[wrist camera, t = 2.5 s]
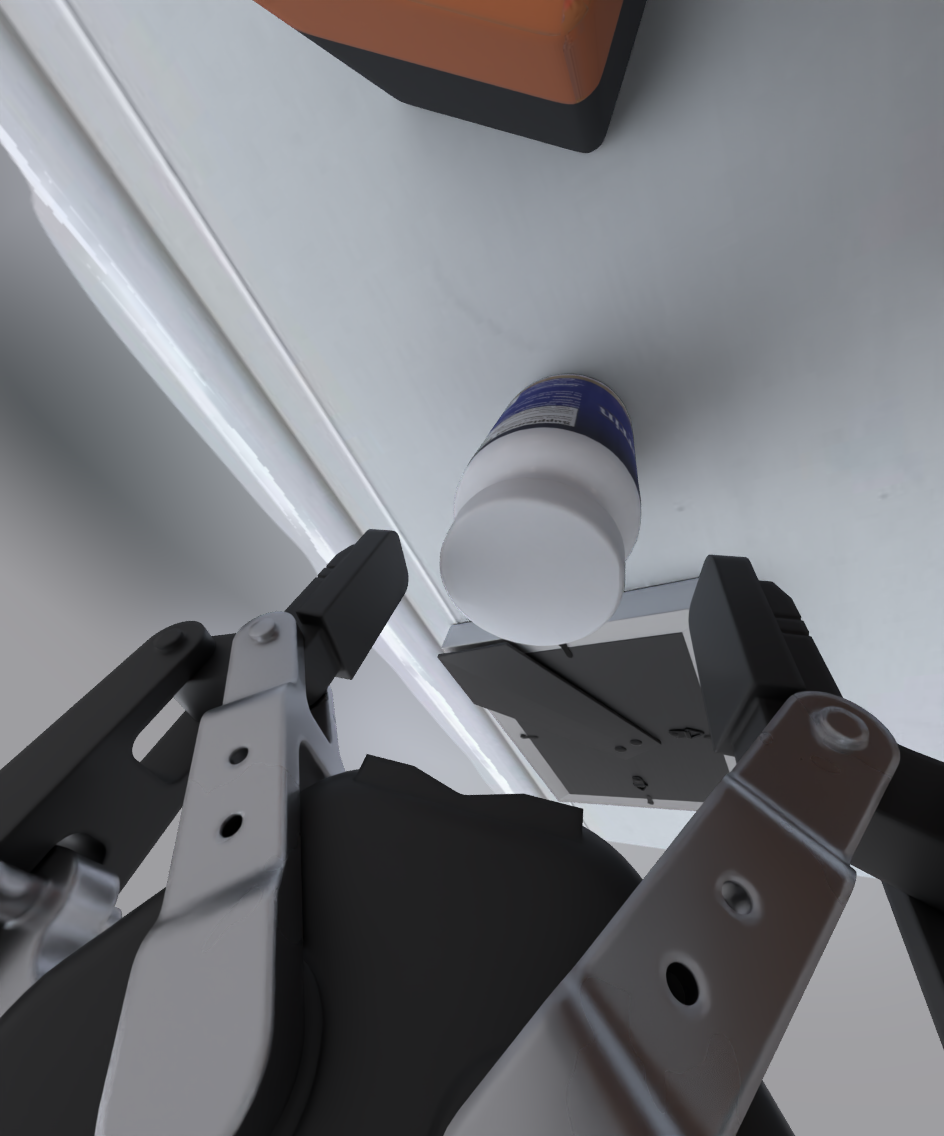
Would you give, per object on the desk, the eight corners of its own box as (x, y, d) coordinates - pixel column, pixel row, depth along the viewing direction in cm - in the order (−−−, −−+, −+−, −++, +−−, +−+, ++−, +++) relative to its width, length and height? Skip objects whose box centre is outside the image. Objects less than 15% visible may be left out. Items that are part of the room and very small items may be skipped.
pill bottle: (641, 484, 17) (661, 658, 10) (520, 508, 20) (465, 663, 12) (621, 347, 14) (629, 450, 7) (482, 395, 17) (380, 509, 9)
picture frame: (450, 625, 27) (560, 777, 36) (437, 657, 25) (557, 810, 34) (707, 575, 19) (763, 785, 29) (718, 615, 17) (775, 828, 27)
